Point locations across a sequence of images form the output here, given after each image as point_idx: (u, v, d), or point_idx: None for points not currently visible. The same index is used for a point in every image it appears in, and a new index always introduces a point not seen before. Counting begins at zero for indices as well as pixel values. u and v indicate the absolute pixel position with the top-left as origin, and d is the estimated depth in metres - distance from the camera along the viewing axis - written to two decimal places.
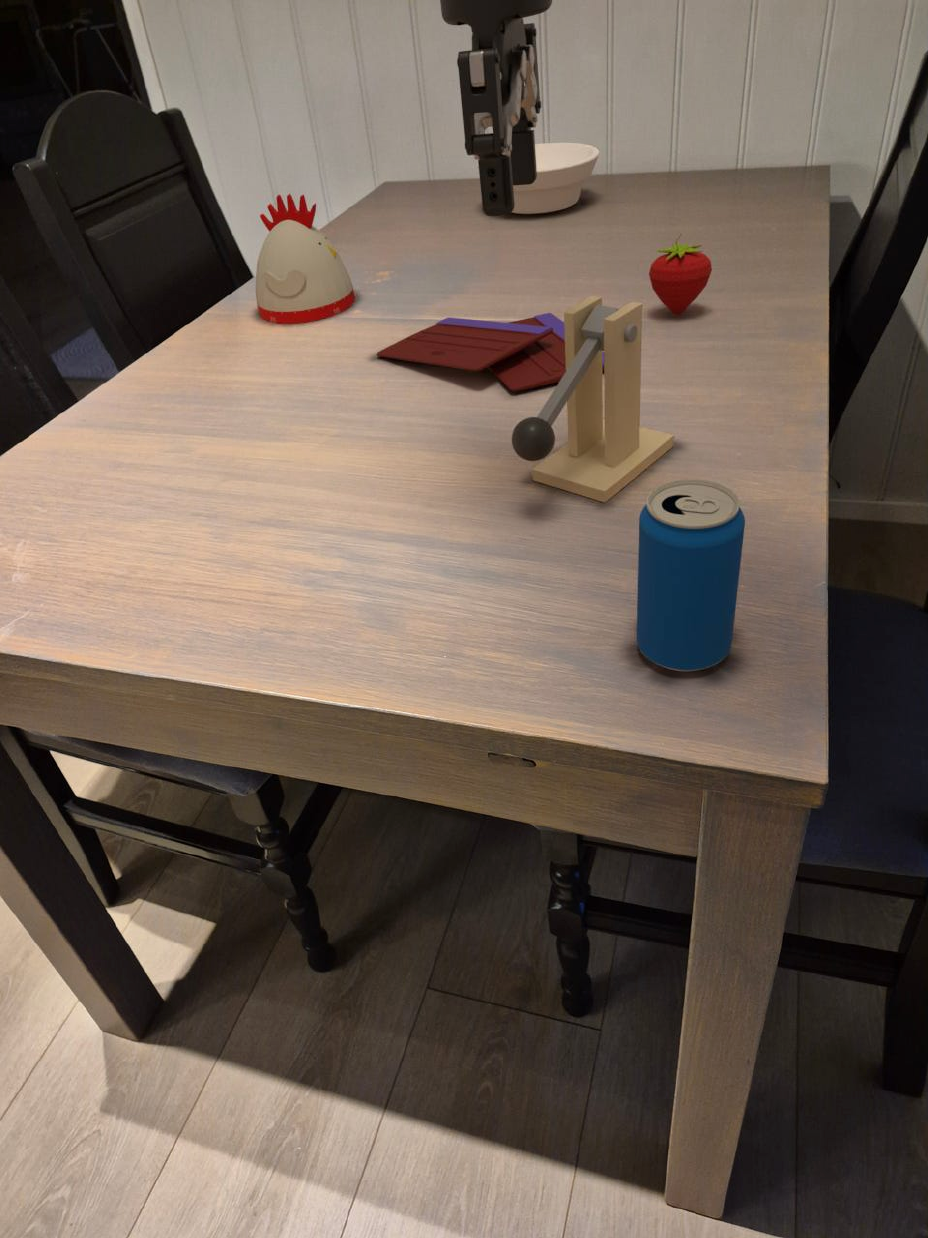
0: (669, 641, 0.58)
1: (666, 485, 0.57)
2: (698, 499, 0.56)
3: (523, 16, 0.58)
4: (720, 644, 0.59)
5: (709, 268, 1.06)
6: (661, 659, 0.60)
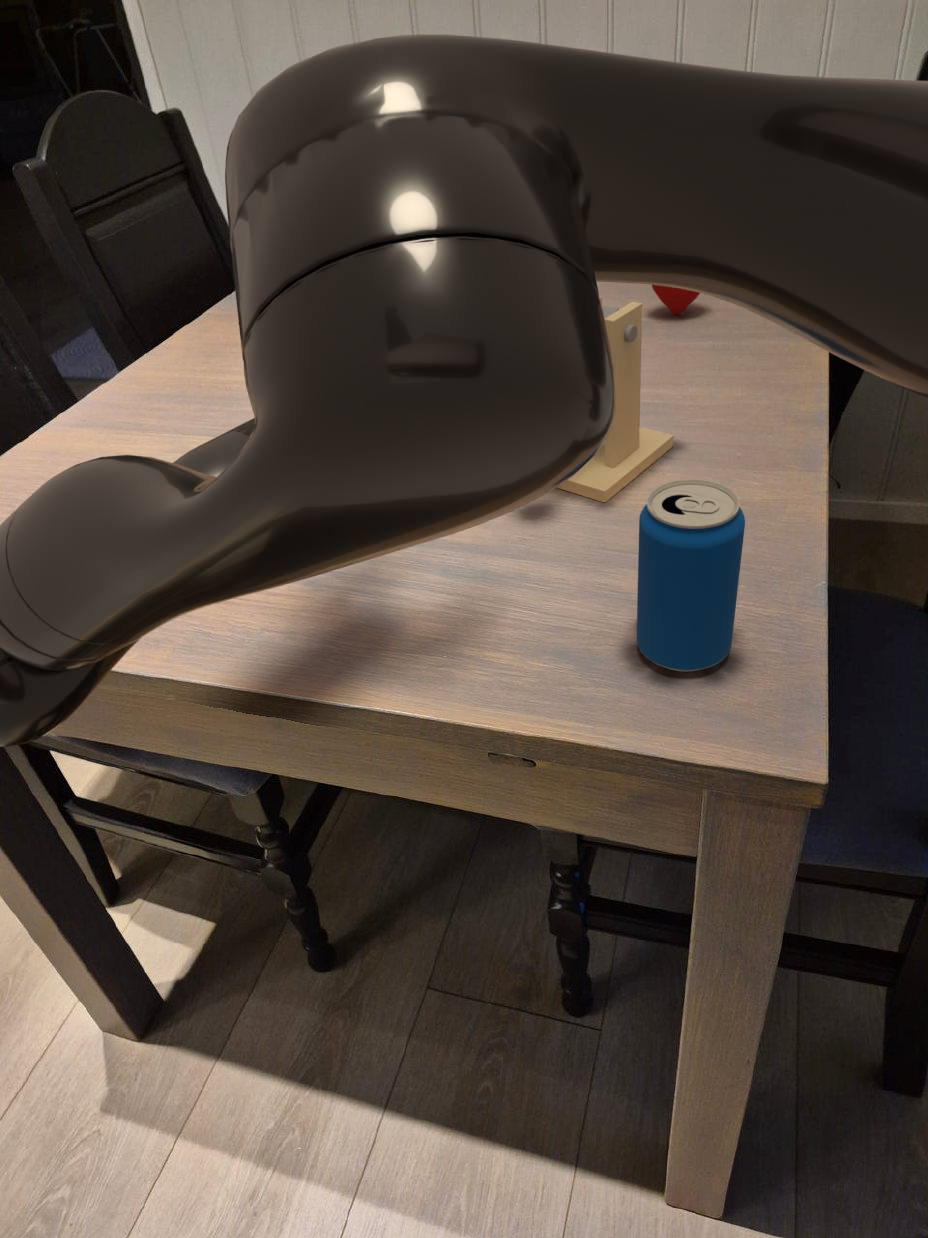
0: (669, 641, 0.58)
1: (666, 485, 0.57)
2: (698, 499, 0.56)
3: None
4: (720, 644, 0.59)
5: None
6: (661, 659, 0.60)
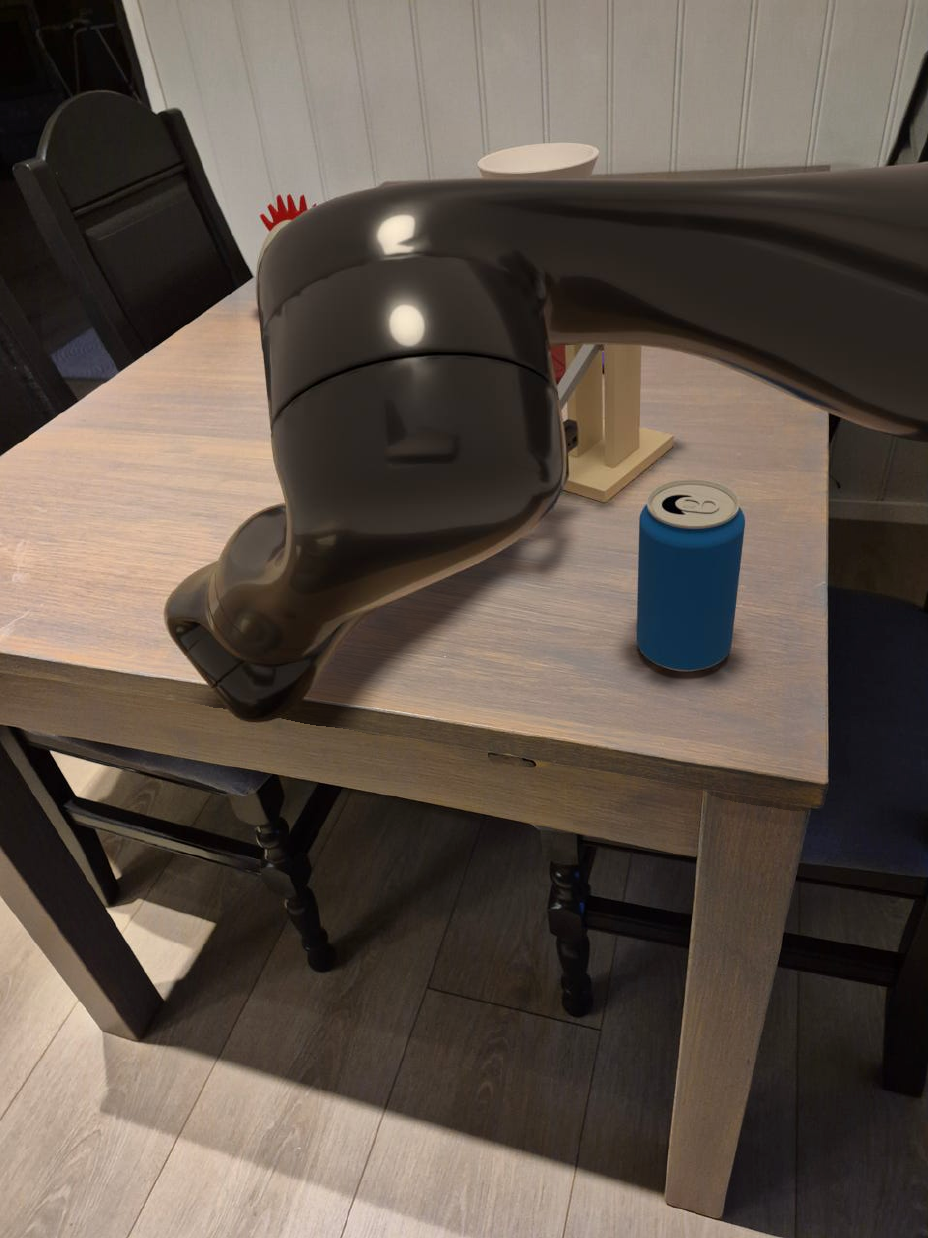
0: (669, 641, 0.58)
1: (666, 485, 0.57)
2: (698, 499, 0.56)
3: None
4: (720, 644, 0.59)
5: None
6: (661, 659, 0.60)
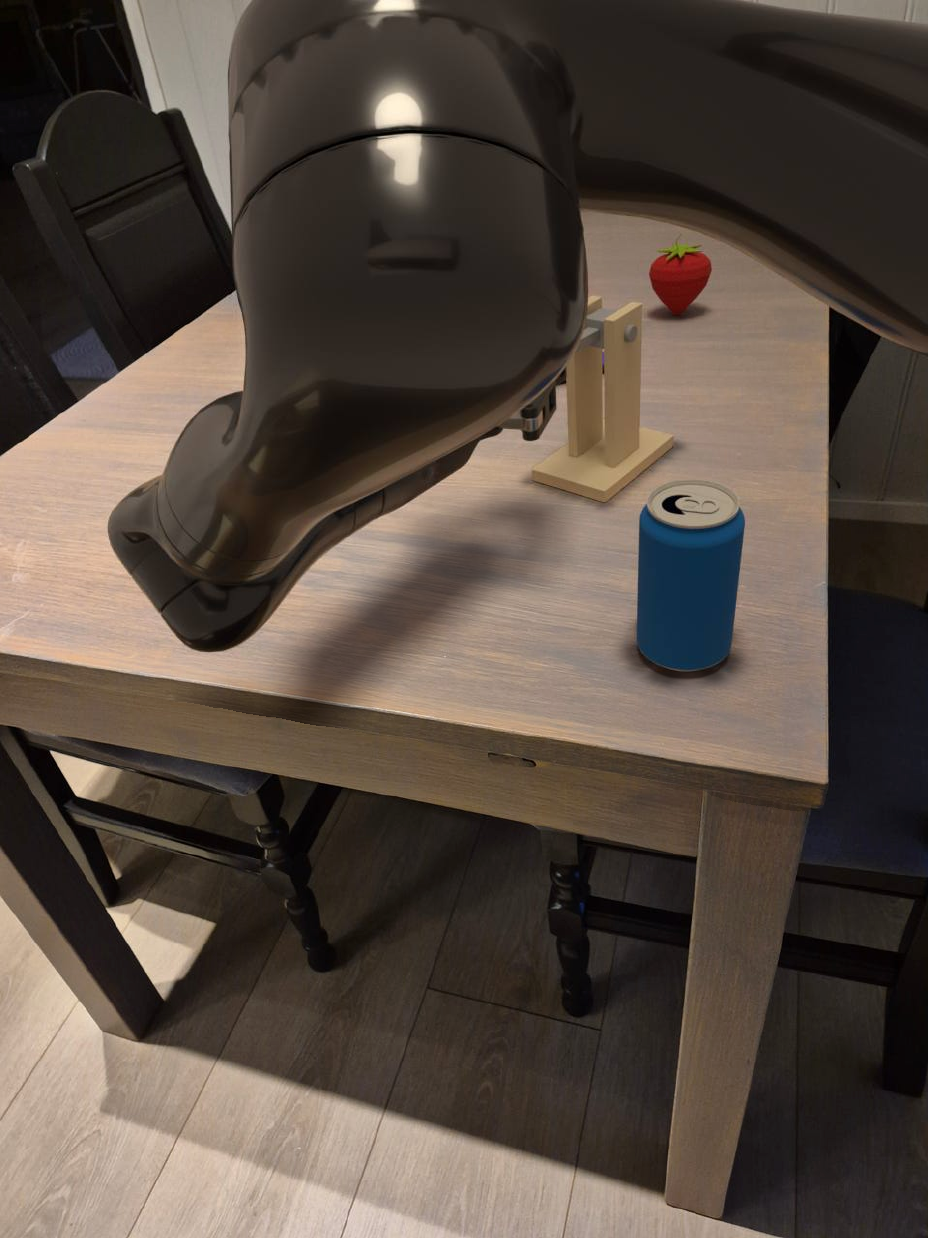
0: (669, 641, 0.58)
1: (666, 485, 0.57)
2: (698, 499, 0.56)
3: None
4: (720, 644, 0.59)
5: (709, 268, 1.06)
6: (661, 659, 0.60)
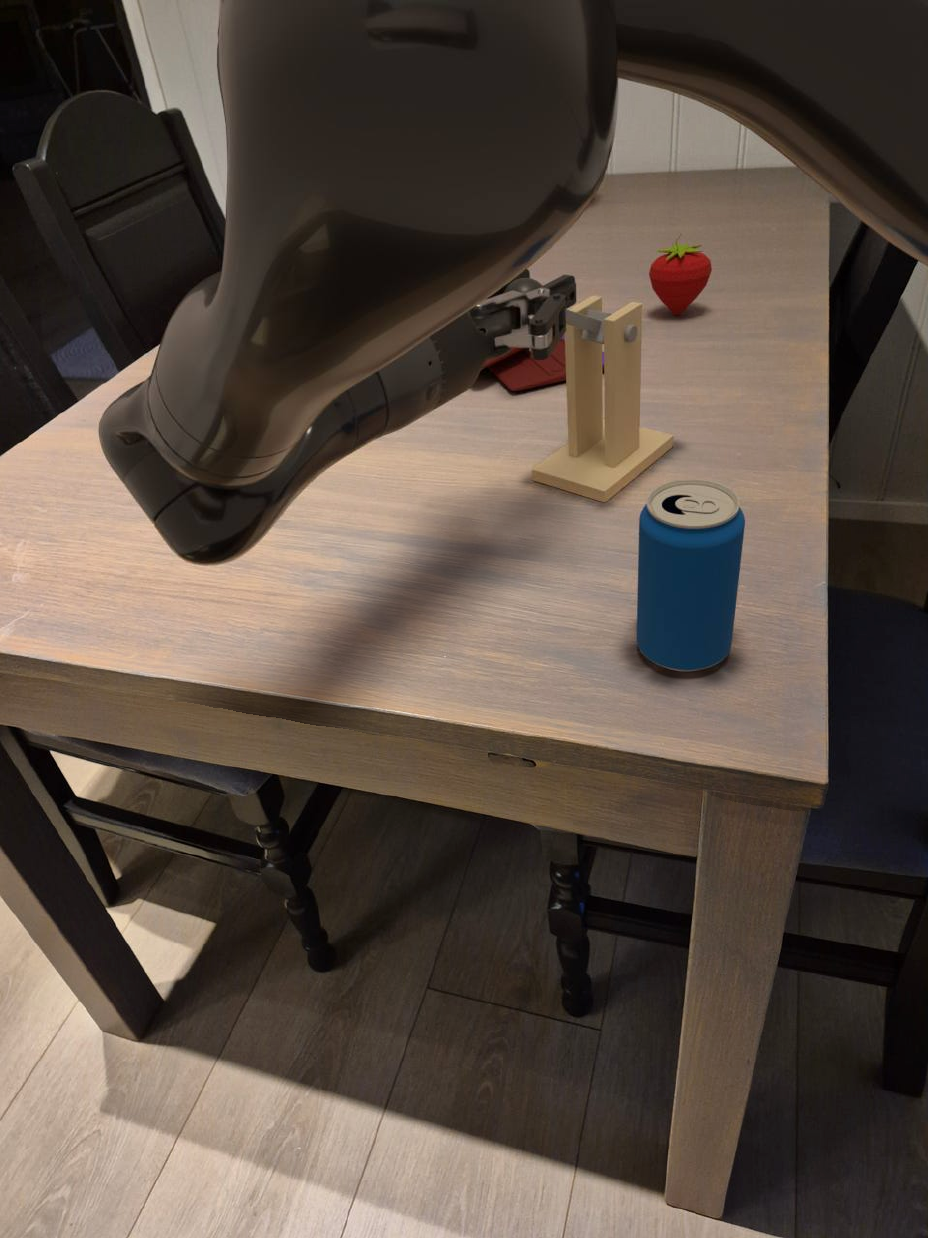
0: (669, 641, 0.58)
1: (666, 485, 0.57)
2: (698, 499, 0.56)
3: None
4: (720, 644, 0.59)
5: (709, 268, 1.06)
6: (661, 659, 0.60)
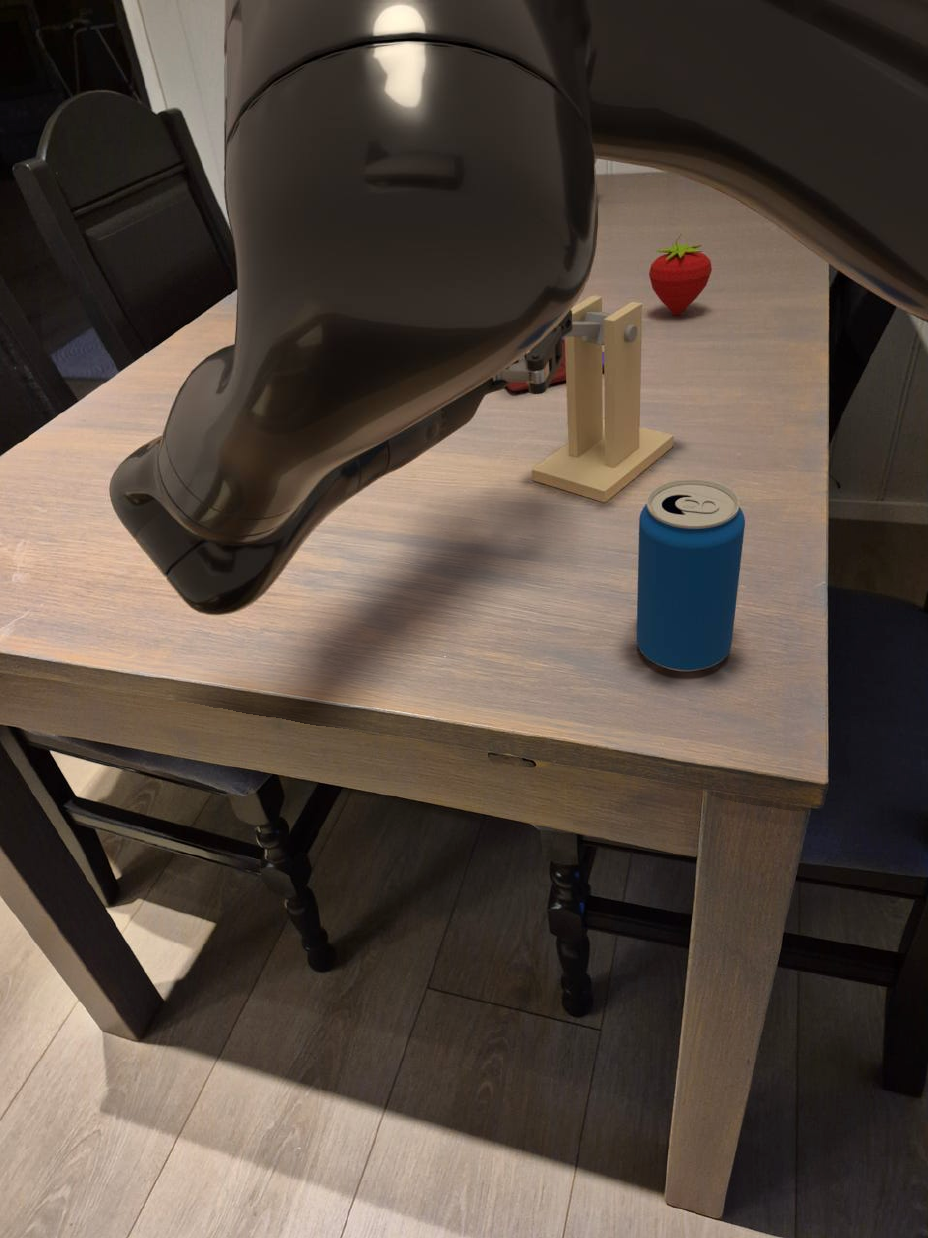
0: (669, 641, 0.58)
1: (666, 485, 0.57)
2: (698, 499, 0.56)
3: None
4: (720, 644, 0.59)
5: (709, 268, 1.06)
6: (661, 659, 0.60)
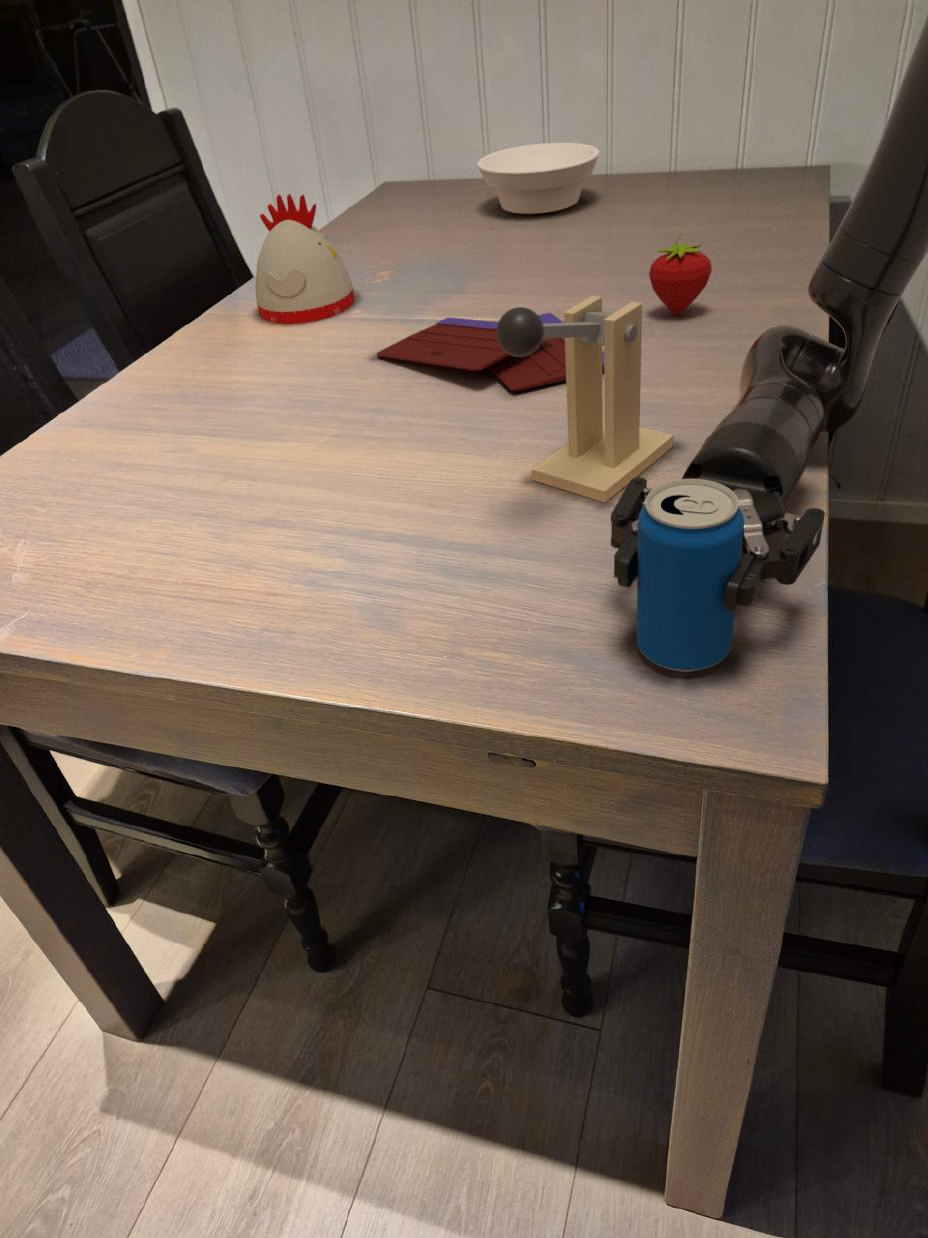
0: (669, 641, 0.58)
1: (665, 485, 0.57)
2: (697, 499, 0.55)
3: None
4: (720, 644, 0.59)
5: (709, 268, 1.06)
6: (661, 659, 0.60)
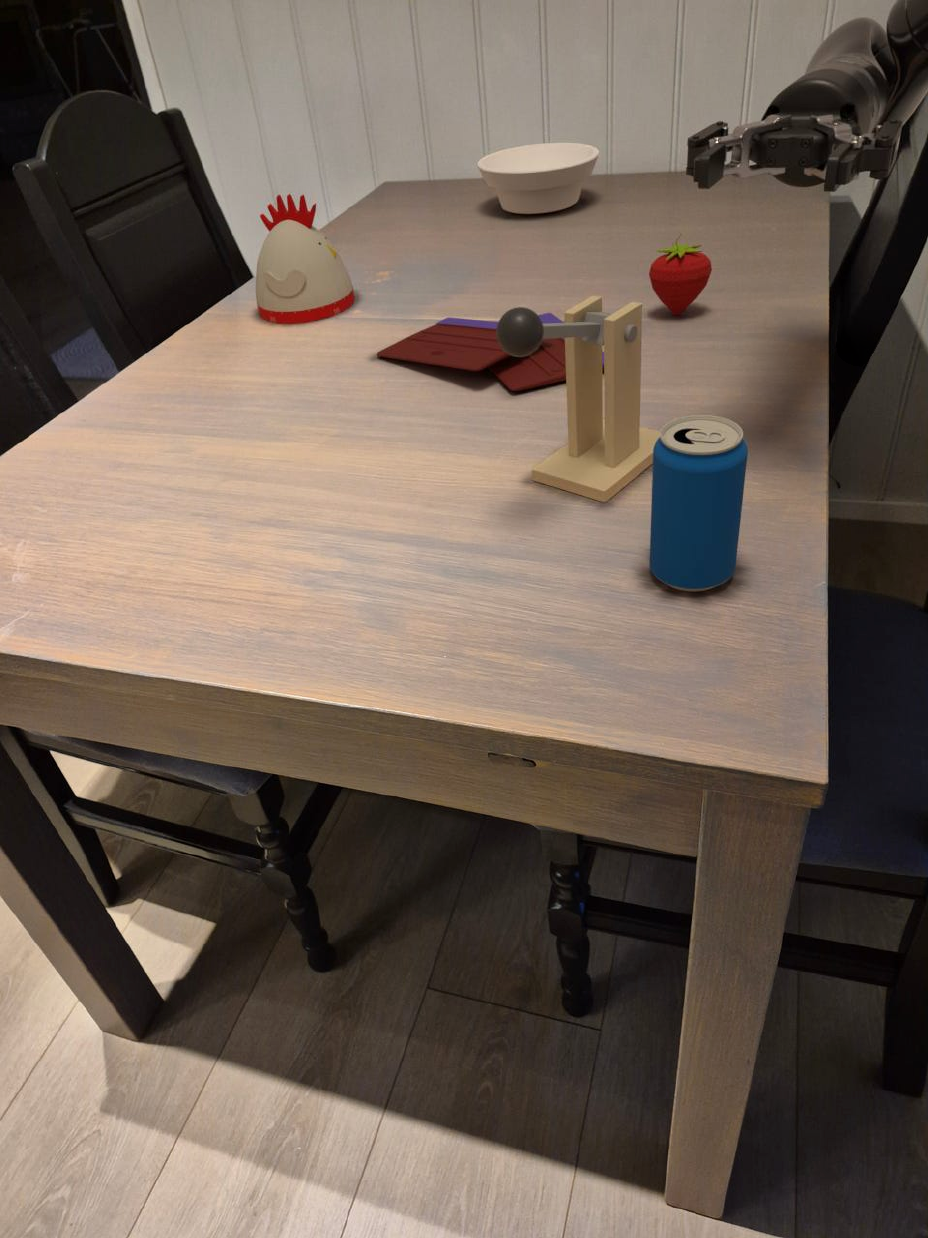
0: (679, 561, 0.65)
1: (677, 421, 0.64)
2: (706, 431, 0.62)
3: None
4: (725, 564, 0.65)
5: (709, 268, 1.06)
6: (672, 579, 0.66)
